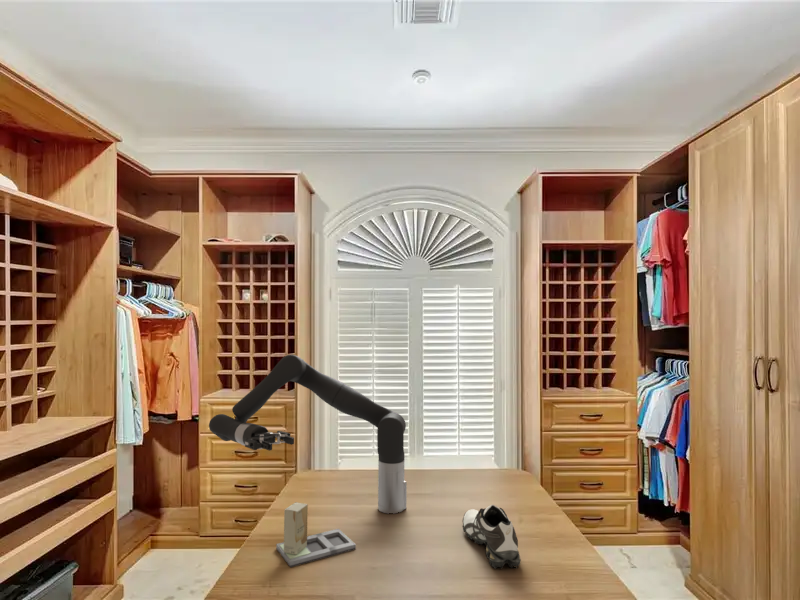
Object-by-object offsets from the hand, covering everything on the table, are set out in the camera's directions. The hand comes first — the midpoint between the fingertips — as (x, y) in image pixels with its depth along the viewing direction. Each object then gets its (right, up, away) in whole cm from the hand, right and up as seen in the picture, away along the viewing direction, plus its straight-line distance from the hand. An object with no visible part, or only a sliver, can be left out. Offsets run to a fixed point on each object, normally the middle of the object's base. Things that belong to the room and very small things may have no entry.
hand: (282, 444), depth 158 cm
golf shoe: (+65, -29, -8) cm, 71 cm away
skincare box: (+7, -26, -14) cm, 31 cm away
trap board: (+12, -28, -10) cm, 32 cm away
